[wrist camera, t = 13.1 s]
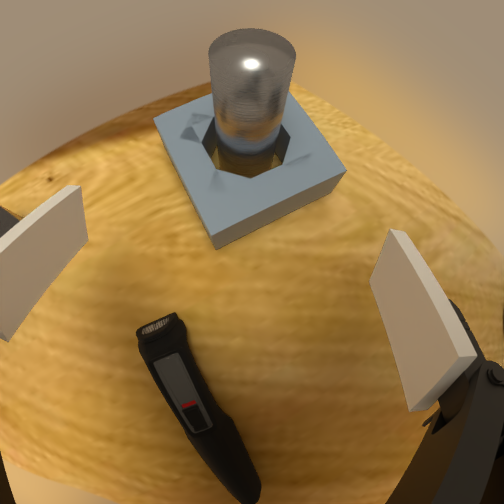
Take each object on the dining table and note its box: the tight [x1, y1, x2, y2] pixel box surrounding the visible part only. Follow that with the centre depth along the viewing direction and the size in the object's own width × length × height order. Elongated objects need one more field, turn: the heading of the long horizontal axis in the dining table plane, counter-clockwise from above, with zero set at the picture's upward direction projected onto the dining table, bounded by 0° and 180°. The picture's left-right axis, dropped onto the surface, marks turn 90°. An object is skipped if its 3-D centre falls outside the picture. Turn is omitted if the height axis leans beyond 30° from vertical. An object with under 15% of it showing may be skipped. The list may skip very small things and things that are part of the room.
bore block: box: [153, 91, 347, 250], centre depth 21 cm, size 10×10×4 cm
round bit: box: [208, 28, 296, 179], centre depth 17 cm, size 4×4×12 cm
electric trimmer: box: [136, 313, 261, 504], centre depth 18 cm, size 4×16×3 cm, turn 25°
